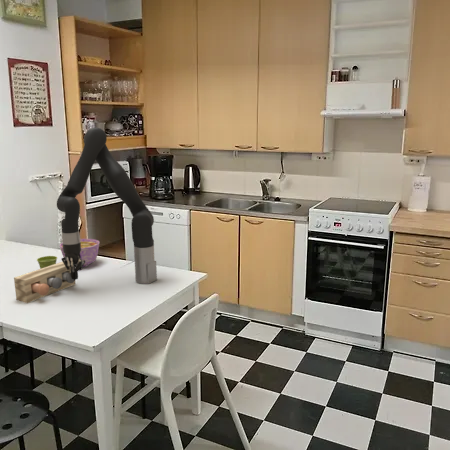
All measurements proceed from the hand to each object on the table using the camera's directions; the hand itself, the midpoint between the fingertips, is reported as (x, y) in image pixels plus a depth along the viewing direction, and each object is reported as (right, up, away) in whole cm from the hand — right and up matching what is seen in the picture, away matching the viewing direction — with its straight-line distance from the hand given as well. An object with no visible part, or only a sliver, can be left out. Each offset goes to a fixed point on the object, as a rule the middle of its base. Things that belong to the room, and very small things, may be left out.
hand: (74, 279), depth 206 cm
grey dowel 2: (-6, -1, +4) cm, 8 cm away
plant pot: (-20, -1, +21) cm, 28 cm away
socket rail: (-12, -5, -1) cm, 13 cm away
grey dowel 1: (-10, -3, -2) cm, 11 cm away
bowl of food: (-9, +3, +37) cm, 38 cm away
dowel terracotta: (-13, -5, -10) cm, 17 cm away
